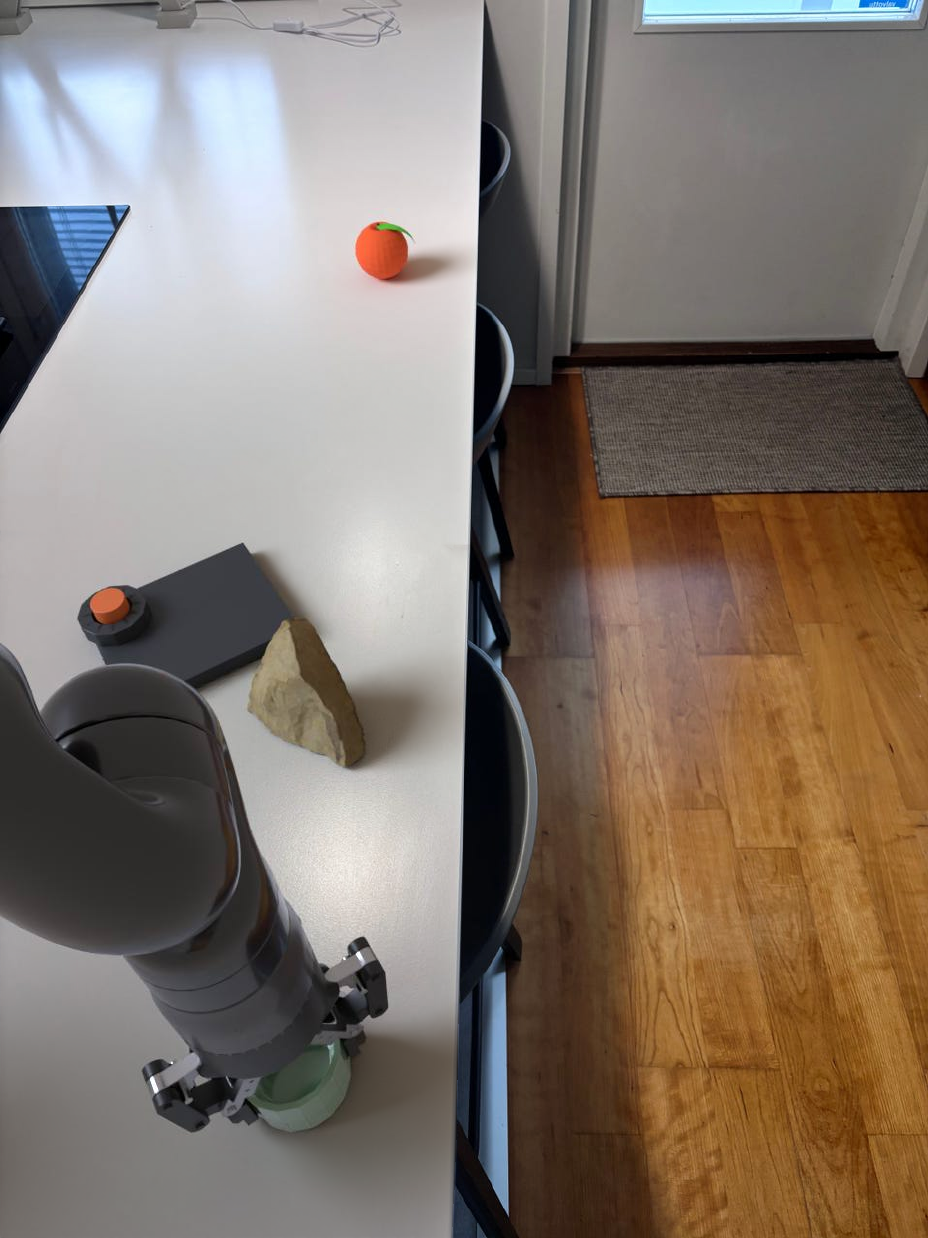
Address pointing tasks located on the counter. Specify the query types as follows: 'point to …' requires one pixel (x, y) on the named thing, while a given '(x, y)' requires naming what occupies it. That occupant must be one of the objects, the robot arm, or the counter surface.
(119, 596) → the button
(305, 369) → the counter surface
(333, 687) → the rock
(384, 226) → the clementine
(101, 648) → the scale
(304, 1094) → the bowl
